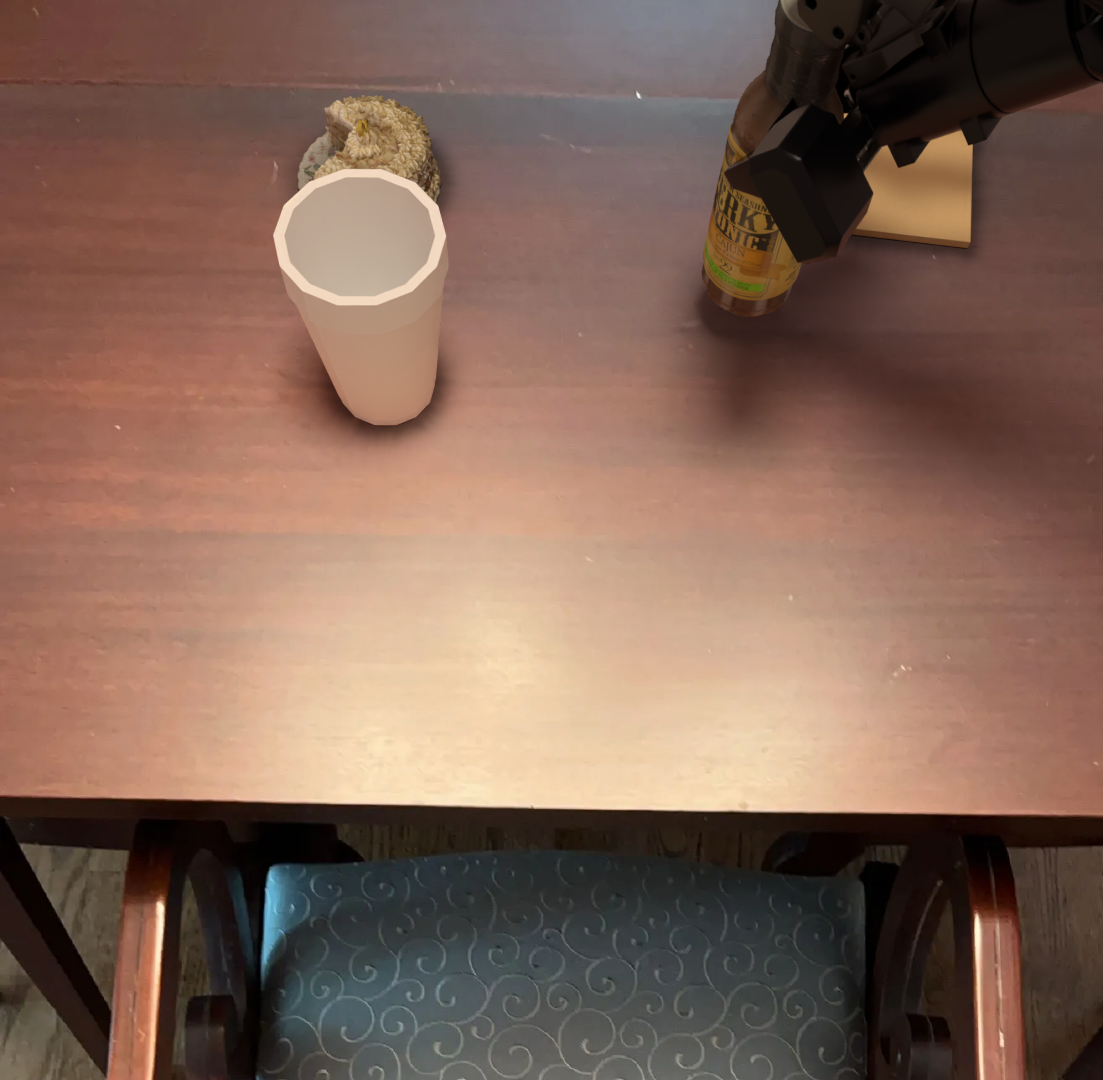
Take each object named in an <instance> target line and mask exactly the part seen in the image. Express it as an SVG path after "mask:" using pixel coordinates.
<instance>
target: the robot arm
mask: <svg viewBox="0 0 1103 1080" xmlns="http://www.w3.org/2000/svg"><path fill="white" fill-rule="evenodd" d="M797 10H798V15H799V16H800V18H801V19H802V20H803V21H804V22H805V23H806V24H807V25H808V27H809V28H810V29H811V30H812V31H813V32H814V33H815V34H816V35H817V36H818V38H819V39H820V40H821V41H822V42H823V43H824V44H825V45H826V46H827V47H828V48H830V49H841V48H842V47H843V46H844V45H845V44H847V45H846V47H845V51H844V54H843V58H842V61H841V64H840V67H839V76H838V82H837V84H836V86H835V88H836V90H837V93H838V95H839V98H840V101H841V103H842V106H843V112H844V114H846V113H848V114H847V116H846V117H845V118H844V120H843V121H842V122H841V124H839V122H838V120H837V118H836V116H835V114H833V113H831V112H829V111H827V110H825V109H823V108H821V107H819V106H816V105H814V104H812V103H810V104H807V105H805V106H802V107H800V108H798V106H797V104H796V102H795V100H794V98H792V99H791V100H790V102H789V103H788V104H787V106H786V107H785V108H784V110H783V111H782V112H781V114H780V115H779V116H778V117H777V119H776V120H775V121H774V123H773V124H772V125H771V127H770V128H769V129H768V131H767V134H766V137H765V138H764V139H763V140H762V142H761V143H760V144H759V146H758V147H757V148H756V149H755V150H754V151H752V152H750V153H749V154H747V155H746V156H744V157H742V158H741V159H739V160H738V161H737V162H735V163H734V164H732V165H731V166H729V167H728V168H727V169H726V171H725V172H724V174H725V177H726V178H727V180H728V182H729V184H730V185H731V187H732V188H733V189H735V190H738V191H741V192H744V193H747V194H750V195H753V196H756V197H758V198H761V199H762V201H763V202H764V204H765V206H766V208H767V209H768V211H769V213H770V215H771V217H772V218H773V220H774V222H775V224H776V226H777V227H778V229H779V231H780V233H781V234H782V236H783V238H784V240H785V242H786V243H787V245H788V247H789V249H790V250H791V252H792V254H793V256H794V258H795V259H796V261H797V263H802V264H801V265H811V264H814V263H818V262H822V261H827V260H830V259H833V258H836V257H837V256H838V254H839V253H840V252H841V250H842V249H843V248H844V246H845V245H846V243H847V242H848V240H849V239H850V238H851V236H852V233H853V232H854V230H855V229H856V228H857V226H858V225H859V223H860V222H861V221H862V219H863V218H864V216H865V215H866V214H867V211H868V208H869V205H870V203H871V200H872V197H873V194H874V193H873V191H872V189H871V187H870V185H869V183H868V181H867V179H866V177H865V175H864V172H865V170H866V169H867V167H868V166H869V165H870V163H871V162H872V160H873V159H874V158H875V156H876V155H877V154H878V152H879V151H880V149H881V148H882V147H884V146H888V148H889V150H890V152H891V154H892V156H893V158H894V160H895V163H896V165H897V167H898V168H901V167H904V166H907V165H910V164H913V163H915V162H916V160H917V159H918V158H919V156H920V155H921V153H922V152H923V150H924V149H925V148H926V146H927V145H928V143H929V142H930V141H931V140H934V139H937V138H940V137H943V136H946V135H949V134H952V133H955V132H958V131H961V130H962V132H963V135H964V137H965V139H966V142H967V144H968V146H969V145H972V144H973V145H975V144H978V143H981V142H985V141H987V140H988V139H989V137H990V136H991V134H992V133H993V131H994V130H995V129H996V128H997V125H998V124H999V122H1000V121H1001V120H1002V119H1003V117H1005V116H1009V115H1010V114H1011V115H1012V114H1014V113H1016V112H1019V111H1023V110H1026V109H1028V108H1032V107H1034V106H1038V105H1042V104H1044V103H1047V102H1050V101H1053V100H1056V99H1058V98H1063V97H1064V96H1068V95H1071V94H1074V93H1077V92H1080V91H1083V90H1086V89H1088V88H1092V87H1095V86H1099V85H1101V84H1103V0H798V1H797Z"/></svg>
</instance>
